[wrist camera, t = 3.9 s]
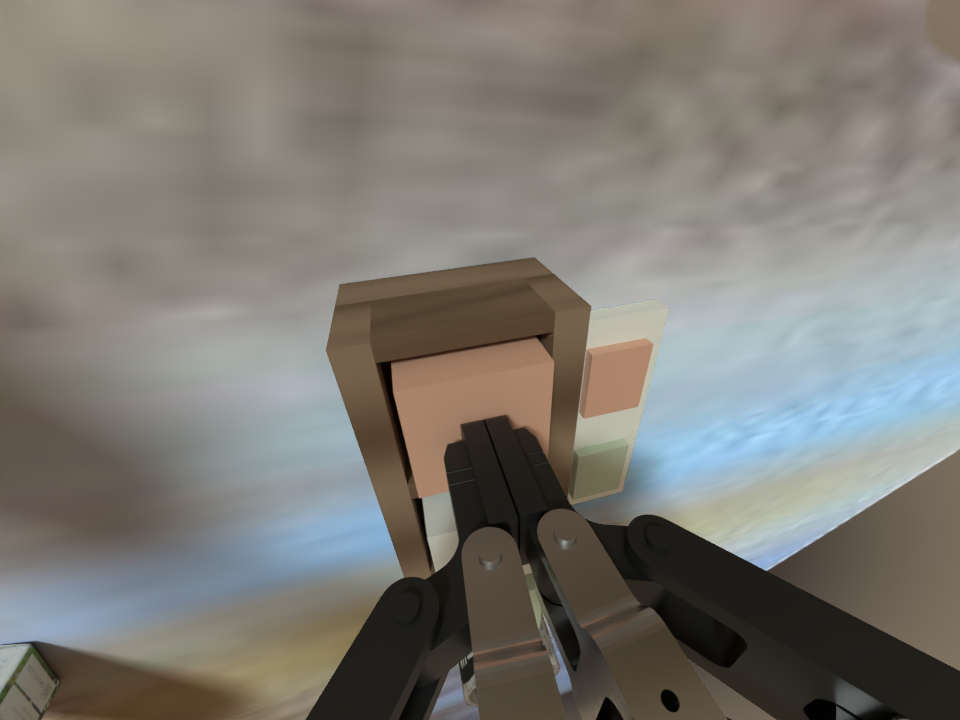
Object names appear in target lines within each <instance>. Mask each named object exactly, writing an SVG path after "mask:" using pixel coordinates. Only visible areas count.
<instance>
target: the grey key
mask: <svg viewBox="0 0 960 720" xmlns="http://www.w3.org/2000/svg"><path fill="white" fill-rule="evenodd" d="M422 501H423V509H424V517H425V525H426V532H427V539H428V543H429V547H430V551H431V555H432V559H433V564H434V568H435V572H437V571H438V570H440V569H441V568H443V567H444V566H445V565H446V564H447V563H448V562H449V561H450V560H451V558H452V557H453V556H454V554H455V552H456V549H457V547H458V542H459V539H458V534H457V529H456V524H455V519H454V514H453V509H452V504H451V499H450V494H449V491H448V492H444V493H439V494H435V495H431V496H427V497H423V498H422ZM522 566H523V570H524V574H525V575H526V574H529V573H532V570H531V567H530V564H526V565H522Z"/></svg>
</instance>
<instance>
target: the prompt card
mask: <svg viewBox="0 0 960 720" xmlns="http://www.w3.org/2000/svg"><path fill="white" fill-rule="evenodd" d="M668 310H669V307H667V306H666V305H664V304H662V303H661V302H659V301H658V300H650V301H644V302H638V303H632V304H626V305H620V306H614V307H608V308H602V309H597V310H591V312H590V320H589V328H588V336H587V344H586V352H585V361H584V369H583V377H582V385H581V393H580V401H579V409H578V417H577V425H576V433H575V441H574V449H573V457H572V466H571V474H570V482H569V490H568V498H567V499H568V501H569V503H570V504H571V505H574V504H577V503H581V502H585V501H589V500H593V499H597V498H600V497H604V496H608V495H612V494H616V493H620V492H622V491H623V487H624V483H625V479H626V475H627V471H628V467H629V463H630V459H631V456H632V452H633V448H634V444H635V440H636V436H637V432H638V428H639V424H640V420H641V416H642V412H643V408H644V405H645V401H646V397H647V393H648V389H649V385H650V381H651V377H652V373H653V369H654V365H655V361H656V358H657V354H658V350H659V346H660V342H661V338H662V334H663V330H664V326H665V322H666V318H667V314H668Z"/></svg>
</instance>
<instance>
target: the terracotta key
mask: <svg viewBox="0 0 960 720" xmlns="http://www.w3.org/2000/svg"><path fill="white" fill-rule="evenodd" d="M391 368H392V382H393V393H394V398H395V402H396V406H397V410H398V414H399V418H400V422H401V426H402V431H403V435H404V439H405V443H406V447H407V451H408V455H409V459H410V463H411V468H412V472H413V476H414V480H415V484H416V488H417V492H418V496H419V498H423V497H427V496H431V495H435V494H439V493H444V492H448V491H449V488H448V482H447V476H446V470H445V464H444V455H445V451H446V448H447V444H450V443H454V442H459V441H462V438H461V429H460V424H464V423H469V422H474V421H479V420H484V419H488V418H493V417H497V416H502V415H506V416H507V418H508V420H509V422H510V425H511V427H512V429H513V430H515V429H519V428H524V427H525V428H526V429H527V430H528V431H529V432H531V433H532V434H533V435H534V436H535V437H536V438H537V440H538V442H539V444H540V446H541V448H542V449H543V453H545V455H546V457H547V459H548V448H549V433H550V419H551V404H552V390H553V375H554V360H553V359H552V358H551V356H550V355H549V354H548V352H547V351H546V350H545V348H544V347H543V346H542V344H541V343H540V342H539V340H538V339H537V338H536V336H535V335H534V336H528V337H522V338H517V339H511V340H505V341H500V342H494V343H488V344H482V345H477V346H471V347H465V348H460V349H454V350H448V351H443V352H437V353H431V354H426V355H420V356H414V357H409V358H403V359H397V360H392V361H391Z"/></svg>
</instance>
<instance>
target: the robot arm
mask: <svg viewBox="0 0 960 720" xmlns="http://www.w3.org/2000/svg"><path fill="white" fill-rule="evenodd" d="M460 429H461V438H462V441H459V442H454V443H450V444H447V448H446V451H445V455H444V464H445V470H446V476H447V482H448V488H449V494H450V499H451V504H452V509H453V514H454V519H455V524H456V529H457V534H458V539H459V542H458V547H457V549H456V552H455V554H454V556H453V557H452V558H451V560H450V561H449V562H448V563H447V564H446V565H445V566H444V567H443V568H441V569H440V570H438V571H437V572H435V573H434V574H432V575H431V576H429V577H428V578H427V579H422V578H420V577H407V578H403V579H400V580H398V581H397V582H395V583H393V584H392V585H391V586H390V587H389V588H388V589H387V590H386V591H385V592H384V593H383V595H382V596H381V598H380V599H379V601H378V603H377V604H376V606H375V608H374V609H373V611H372V612H371V614H370V616H369V617H368V619H367V621H366V622H365V624H364V626H363V627H362V629H361V630H360V632H359V634H358V635H357V637H356V639H355V640H354V642H353V643H352V645H351V647H350V648H349V650H348V652H347V653H346V655H345V656H344V658H343V660H342V661H341V663H340V665H339V666H338V668H337V669H336V671H335V673H334V674H333V676H332V678H331V679H330V681H329V682H328V684H327V686H326V687H325V689H324V691H323V692H322V694H321V695H320V697H319V699H318V700H317V702H316V704H315V705H314V707H313V709H312V710H311V712H310V713H309V715H308V717H307V718H306V720H429V718H430V716H431V713H432V711H433V708H434V706H435V704H436V701H437V699H438V696H439V694H440V692H441V689H442V687H443V684H444V682H445V679H446V677H447V675H448V672H449V670H450V669H451V668H453V667H454V666H455V665H456V664H458V663H459V662H460V661H461V660H462V659H464V658H465V657H466V656H467V655H469V654H470V653H471V652H473V664H474V674H475V683H476V692H477V700H478V709H479V717H480V720H566V717H565V713H564V709H563V706H562V702H561V698H560V694H559V690H558V686H557V683H556V679H555V675H554V671H553V667H552V664H551V660H550V657H549V654H548V651H547V649H546V647H545V645H544V644H543V642H542V640H541V637H540V633H539V630H538V626H537V622H536V618H535V614H534V610H533V606H532V602H531V598H530V594H529V590H528V586H527V582H526V578H525V574H524V570H523V566H522V565H526V564H530V567H531V570H532V573H533V576H534V579H535V580H534V588H535V593H536V596H537V598H538V601H539V603H540V606H541V608H542V610H543V613H544V615H545V618H546V620H547V623H548V625H549V627H550V630H551V632H552V635H553V637H554V639H555V642H556V644H557V647H558V649H559V651H560V654H561V656H562V659H563V661H564V664H565V666H566V668H567V671H568V674H569V677H570V681H571V685H572V690H573V694H574V698H575V701H576V704H577V707H578V710H579V712H580V715H581V718H582V720H731V719H729V718H727V717H726V716H725V715H724V713H723V712H722V710H721V709H720V707H719V706H718V704H717V703H716V701H715V700H714V698H713V697H712V695H711V694H710V692H709V690H708V689H707V687H706V686H705V684H704V683H703V681H702V680H701V678H700V676H699V675H698V673H697V672H696V670H695V669H694V667H693V666H692V664H691V663H690V661H689V659H690V660H692V661H693V662H694V663H696V664H697V665H699V666H700V667H701V668H703V669H704V670H706V671H707V672H709V673H710V674H712V675H713V676H714V677H716V678H717V679H719V680H720V681H722V682H723V683H725V684H726V685H727V686H729V687H730V688H732V689H733V690H735V691H736V692H738V693H739V694H740V695H742V696H743V697H745V698H746V699H748V700H749V701H751V702H752V703H754V704H755V705H756V706H758V707H759V708H761V709H762V710H764V711H765V712H767V713H768V714H769V715H771V716H772V717H774V718H775V719H777V720H960V671H958V670H956V669H955V668H953V667H951V666H949V665H947V664H945V663H943V662H941V661H939V660H937V659H935V658H933V657H932V656H930V655H927V654H926V653H924V652H922V651H920V650H918V649H916V648H914V647H912V646H910V645H908V644H906V643H904V642H902V641H900V640H898V639H897V638H895V637H893V636H891V635H889V634H887V633H885V632H883V631H881V630H879V629H877V628H875V627H873V626H872V625H870V624H868V623H865V622H864V621H862V620H860V619H858V618H856V617H854V616H852V615H850V614H848V613H846V612H844V611H842V610H840V609H839V608H837V607H835V606H833V605H831V604H829V603H827V602H825V601H823V600H821V599H819V598H817V597H815V596H813V595H812V594H810V593H808V592H806V591H804V590H802V589H800V588H798V587H796V586H794V585H792V584H790V583H788V582H786V581H784V580H782V579H780V578H779V577H777V576H775V575H773V574H771V573H769V572H767V571H765V570H763V569H761V568H759V567H757V566H755V565H753V564H752V563H750V562H748V561H746V560H744V559H742V558H740V557H738V556H736V555H734V554H732V553H730V552H728V551H726V550H724V549H722V548H721V547H719V546H717V545H715V544H713V543H711V542H709V541H707V540H705V539H703V538H701V537H699V536H697V535H695V534H693V533H692V532H690V531H688V530H686V529H684V528H682V527H680V526H678V525H676V524H674V523H672V522H670V521H668V520H666V519H664V518H662V517H659V516H655V515H641V516H638V517H636V518H635V519H633V520H632V521H631V523H630V524H629V526H616V525H603V524H597V523H594V522H591V521H589V520H587V519H585V518H583V517H582V516H581V515H580V514H578V513H577V512H576V511H575V510H574V509H573V507H572V506H571V504H570V503H569V501H568V499H567V497H566V495H565V493H564V491H563V489H562V487H561V485H560V483H559V481H558V479H557V477H556V475H555V473H554V471H553V469H552V467H551V465H550V464H549V462H548V459H547V457H546V455H545V453H543V449H542V448H541V446H540V444H539V442H538V440H537V438H536V437H535V436H534V435H533V434H532V433H531V432H529V431H528V430H527V429H526V428H525V427H524V428H519V429H515V430H513V429H512V427H511V425H510V422H509V420H508V418H507V416H506V415H502V416H497V417H493V418H488V419H484V420H479V421H474V422H469V423H464V424H460Z"/></svg>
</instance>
